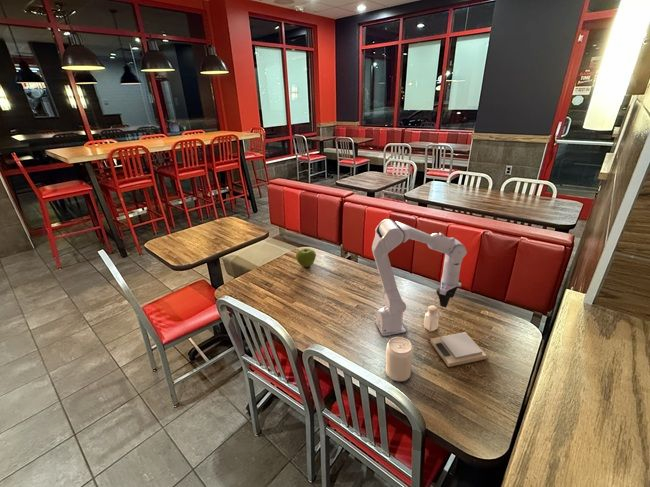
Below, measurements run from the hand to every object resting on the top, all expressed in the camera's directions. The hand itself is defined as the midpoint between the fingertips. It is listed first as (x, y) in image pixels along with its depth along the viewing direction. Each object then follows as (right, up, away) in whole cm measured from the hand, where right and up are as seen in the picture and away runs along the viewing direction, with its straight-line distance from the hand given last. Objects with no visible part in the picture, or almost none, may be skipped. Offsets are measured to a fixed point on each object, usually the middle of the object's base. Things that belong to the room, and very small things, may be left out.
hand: (446, 301), depth 119 cm
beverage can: (-23, -20, -17) cm, 35 cm away
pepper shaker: (-6, -11, +1) cm, 12 cm away
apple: (-57, +10, +51) cm, 77 cm away
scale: (0, -15, -10) cm, 18 cm away
